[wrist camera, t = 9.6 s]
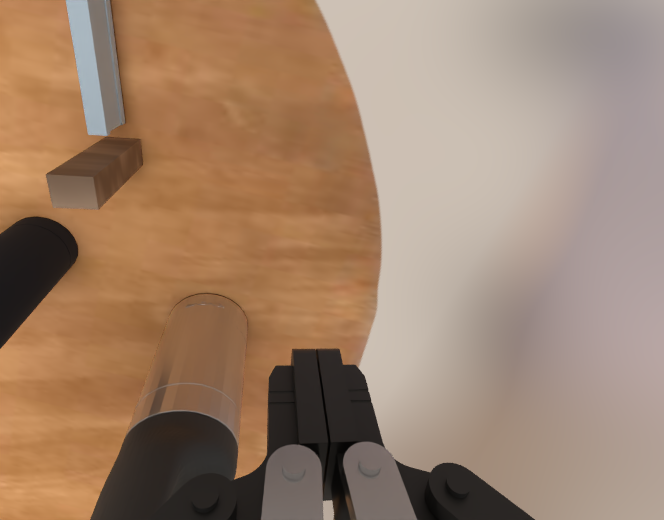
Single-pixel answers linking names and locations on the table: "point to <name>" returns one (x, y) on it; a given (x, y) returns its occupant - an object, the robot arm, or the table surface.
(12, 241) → the black water bottle
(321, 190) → the table surface
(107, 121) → the gate
